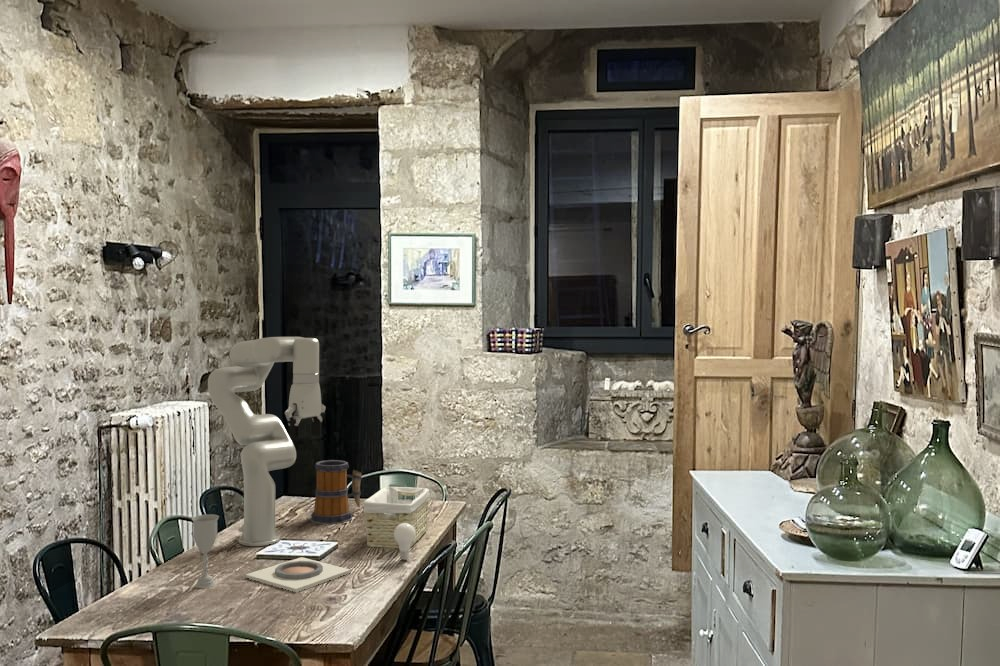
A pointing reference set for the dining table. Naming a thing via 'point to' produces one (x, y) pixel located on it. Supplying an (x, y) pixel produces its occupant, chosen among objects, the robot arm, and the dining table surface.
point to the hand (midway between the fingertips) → (305, 437)
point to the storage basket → (395, 514)
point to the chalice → (205, 543)
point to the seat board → (298, 574)
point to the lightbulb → (404, 539)
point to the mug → (334, 492)
